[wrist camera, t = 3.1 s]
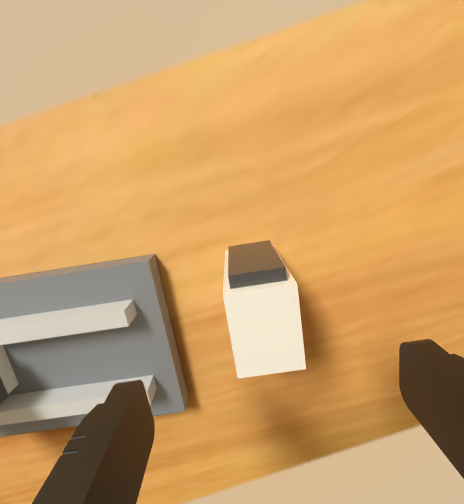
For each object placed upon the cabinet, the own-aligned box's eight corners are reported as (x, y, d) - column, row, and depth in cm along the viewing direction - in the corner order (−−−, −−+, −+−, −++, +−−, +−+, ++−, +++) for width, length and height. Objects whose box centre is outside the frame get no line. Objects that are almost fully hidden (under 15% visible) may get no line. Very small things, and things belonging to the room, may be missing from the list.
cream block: (279, 300, 19) (306, 369, 12) (234, 307, 19) (237, 378, 12) (270, 234, 18) (295, 269, 11) (223, 241, 18) (220, 281, 11)
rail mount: (155, 254, 18) (92, 318, 10) (188, 395, 21) (161, 537, 13) (-82, 290, 19) (-328, 380, 10) (-18, 423, 21) (-173, 576, 13)
